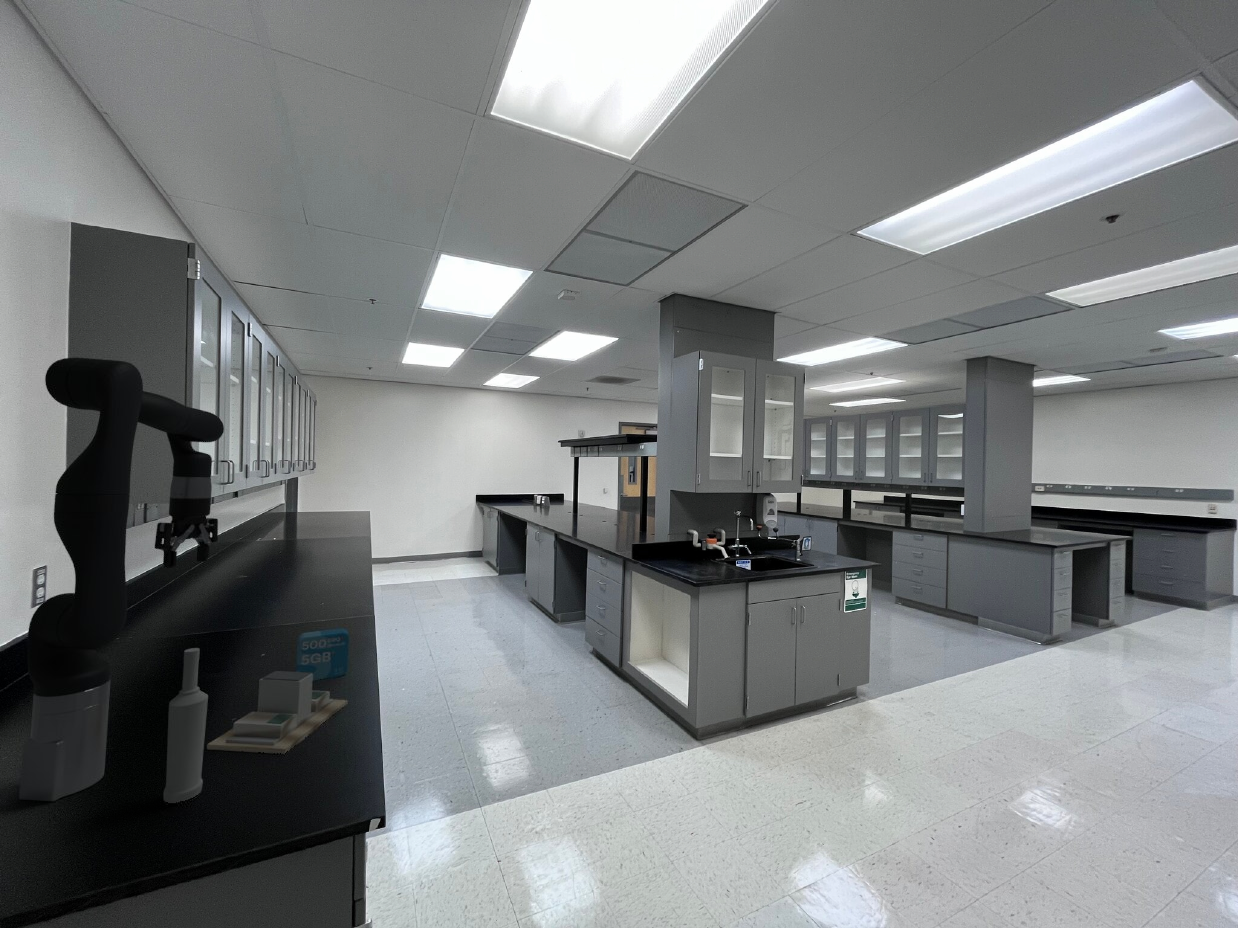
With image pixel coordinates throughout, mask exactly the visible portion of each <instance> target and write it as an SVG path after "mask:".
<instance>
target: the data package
mask: <svg viewBox="0 0 1238 928" xmlns="http://www.w3.org/2000/svg"><path fill="white" fill-rule="evenodd" d="M348 632H349V631H348V630H347V629H346V628H334V629H328V630H327V629H326V630H317V631H308V632H303V633H301V634H300V635H299V636H298V638H297V646H296V649H297V651H296V664H295V666H296V669H295V672H306V673H310V674H313V681H320V679H321V680H326V679H333V678H337V677H338V676H339V677H343V676H344V675H346V674H347V672H348V671H349V670H348V669H349V668H348V667H349V650H350V649H349V647H350V635H349V633H348Z"/></svg>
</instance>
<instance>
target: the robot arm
mask: <svg viewBox="0 0 1238 928" xmlns="http://www.w3.org/2000/svg"><path fill="white" fill-rule="evenodd" d="M44 380H45V381H44V383H45V387H46V390H47V392H48V393H49V395H50V396H51V398H52V399H53V400H55V401H56V402H57V403H59V404H60V405H63V406H65V407H68V408H71V409H72V408H73V409H77V410H84V411H95V412H99V417H98V422H97V426H96V431H95V433H94V436H93V437H92V439H91V441H90V443H88V445H87V446H86V447H85V449H84V450H83V451H82V452H81V453H80V454H79V455H78V456H77V458H75V459H74V460H73V461H72V463H70V465H69V466H67V468H66V469H65V471H64V472H63V473H62V474H61V476H60V477H59V478H58V481H57V482H56V486H55V494H54V506H53V507H54V508H53V523H54V527H55V530H56V533H57V535H58V536H59V538H60V541H61V543H62V545H63V546H64V548H65V550H66V552H67V553H68V556H69V558H70V560H71V562H72V565H73V569H74V570H73V571H74V576H75V580H74V592H68V593H60V594H57V595H53V596H52V597H50V598H48V599H46V600H45V601H43V602H41V604H40V605H39V606H38V607H37V608H36V609H35V611H34V613H33V615H32V616H31V618H30V619H31V620H30V622H29V624H28V626H29V627H28V632H27V673H28V676H29V679H30V680H31V682H32V683H33V697H32V698H33V700H32V701H33V702H32V711H31V713H32V714H31V723H30V724H31V725H30V726H31V728H30V739H28V740H25V741H24V742H23V743H22V753H21V754H22V755H21V769H20V782H19V796H18V800H23V801H25V800H26V801H40V802H41V801H42V802H55V801H57V800H59V799H60V798H63V797H66V796H67V797H68V796H69V795H73V794H75V793H78V792H80V791H81V792H82V791H83V790H85V789H88V788H89V787H91V786H93V785H95V784H96V783H98V782H99V781H100V780H101V779H102V778H103V777H104V775H105V767H106V754H107V753H106V752H107V751H106V750H107V739H108V738H107V737H108V721H109V705H110V694H111V693H110V692H111V691H110V690H111V675H112V666H111V663H110V662H108V661H107V660H106V659H104V658H102V656H100V655H99V654H98V653H97V652H96V650H99V649H102V648H104V647H106V646H108V645H110V644H111V643H112V642H114V641H115V640H116V639H117V638H118V637H119V635H120V634H121V633H122V631H123V629H124V627H125V624H126V621H127V618H128V617H127V616H128V595H127V583H126V581H127V579H126V545H127V525H128V524H127V523H128V516H129V509H130V498H131V497H130V496H131V495H130V493H131V474H132V473H131V471H132V463H133V462H132V461H133V453H134V452H133V451H134V442H135V437H136V433H137V427H138V423H139V424H142V425H145V426H147V427H149V428H150V427H151V428H152V429H155V430H158V431H160V432H164V433H166V436H167V439H168V442H169V446H170V450H171V454H172V458H173V465H172V466H173V467H172V479H171V483H170V488H169V489H170V490H169V501H168V502H169V506H168V516H169V517H171V521H170V522H162V521H161V522H158V523H157V524H156V532H155V539H154V549H156V550H161V551H162V552H163V560H162V565H163V566H164V568H169V569H170V568H176V567H177V559H178V558H177V556H178V551H177V549H178V548H179V547H180V545H181V544H183V543H185V542H186V540H191V539H193V540H195V541H196V543H197V544H198V546H197V547H196V561H197V562H202V563H203V562H204V563H205V562H207V561H208V558H209V555H210V554H209V553H210V546H211V545H212V544H213V543H217V542H218V539H219V532H218V531H219V520H218V518H215V517H213V518H212V517H208V516H210V514H211V504H212V503H211V501H212V487H213V486H212V468H213V467H212V466H213V458H212V456H211V455H210V454H209V453H206V452H201V451H197V450H195V449H194V448H193V446H192V443H213V442H216V441H219V439H220V438H222V436H223V434H224V432H225V426H224V423H223V421H222V420H221V418H220V417H219V416H217V414H214V413H212V412H210V411H207V410H203V409H199V408H194V407H191V406H186V405H184V404H182V403H180V402H179V401H176V400H175V399H172V398H171V397H170V398H169V397H167V396H165V395H161V394H158V393H153V392H148V391H146V390H144V384H143V378H142V374H141V372H140V371H139V369H138V367H137V366H135V365H134V364H133V363H131V362H128V361H122V360H116V359H115V360H114V359H103V358H102V359H101V358H89V357H65V358H61V359H58V360H56V361H54V362H52V364H51V365H50V366H49V367H48V369H47V370H46V372H45V379H44ZM191 442H192V443H191Z"/></svg>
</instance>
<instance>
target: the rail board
mask: <svg viewBox="0 0 1238 928" xmlns="http://www.w3.org/2000/svg"><path fill="white" fill-rule="evenodd" d="M330 693H331V692H330V691H329V690H328V691H326V690H312V700H311V714H310V715H308V716H307V717H306V718H304V719H303V720H302V721H300V722H299V723H298V724H297V714H284V713H267V712H258V711H251V712H249V713H248V714H246V715H244V716H243V717H241V718H240V719H238V720H236V721H235V722H233V727H232V728H231V729H230V730H228V731H227V732H225V733H223V734H222V735H220V736H219V737H217V738H215V739H214V740H212V741H210V742H208V743H207V745H206V750H208V751H209V750H210V751H211V750H213V751H225V752H226V751H229V752H242V751H243V753H258V752H261V753H263V752H264V753H263V754H274V753H275V754H276V755H277V753H278V755H285V753H286V752H287V751H288V752H290V751H291V750H292V749H293V748H294V746H295V745H296V746H297V745H298V744H300V743H301V742H302V741H304V740H305V739H306V738H308V737H309V736H310V735H311V734H312V733H314V730H315V731H316V730H317V729H319V728H320V727H321V726H322V725H323V724H322V723H323V722H325V721H326V720H327V719H329V717H331V716H332V715H333V714H335V713H336V712H337V711H339V710H340V709H341V708H342V707H344V706H345V705H346V704H348V703H349V700H347V699H334V698H330V695H331V694H330ZM346 706H347V705H346ZM346 706H345V707H346ZM345 707H344V708H345ZM341 710H342V709H341ZM341 710H340V711H341ZM340 711H339V712H340ZM337 713H338V712H337ZM337 713H336V714H337ZM336 714H335V715H336ZM332 717H333V716H332ZM332 717H331V718H332ZM329 720H330V719H329ZM327 721H328V720H327ZM327 721H326V722H327ZM326 722H325V723H326ZM321 724H322V725H321ZM320 725H321V726H320ZM319 726H320V727H319ZM318 727H319V728H318ZM309 734H310V735H309ZM305 737H306V738H305ZM296 746H295V747H296ZM291 748H292V749H291ZM290 749H291V750H290ZM288 752H287V753H288ZM280 753H281V754H280ZM287 753H286V754H287Z"/></svg>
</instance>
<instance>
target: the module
mask: <svg viewBox="0 0 1238 928" xmlns="http://www.w3.org/2000/svg"><path fill="white" fill-rule="evenodd" d="M258 684H259V685H258V699H257V712H267V713H284V714H297V724H298V723H299V722H300V721H302V720H303V719H304V718H306V717H307V716H308V715H310V714H311V700H312V691H313V674H310V673H306V672H296V671H283V670H282V671H281V670H275V671H273V672H271V673H268V674H267V675H265V676H264V677H261V678H260V679H259V682H258Z"/></svg>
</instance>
